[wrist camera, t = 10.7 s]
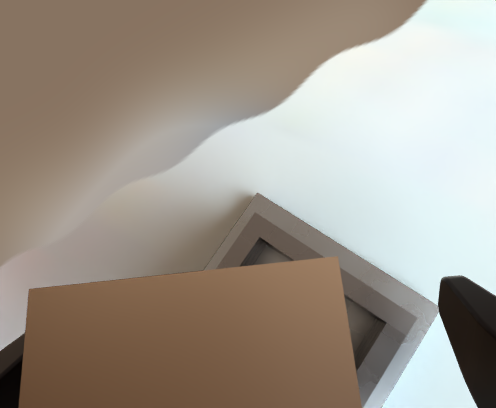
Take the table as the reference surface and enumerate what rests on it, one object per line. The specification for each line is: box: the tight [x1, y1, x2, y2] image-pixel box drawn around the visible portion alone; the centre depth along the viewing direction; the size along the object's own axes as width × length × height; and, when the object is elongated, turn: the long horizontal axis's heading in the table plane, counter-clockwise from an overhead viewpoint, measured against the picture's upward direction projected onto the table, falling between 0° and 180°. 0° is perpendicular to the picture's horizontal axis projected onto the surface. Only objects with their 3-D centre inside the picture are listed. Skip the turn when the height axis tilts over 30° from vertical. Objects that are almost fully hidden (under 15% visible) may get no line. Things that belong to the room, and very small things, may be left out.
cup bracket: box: [203, 193, 439, 408], centre depth 15 cm, size 10×10×4 cm
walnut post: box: [19, 256, 362, 408], centre depth 10 cm, size 4×4×13 cm
